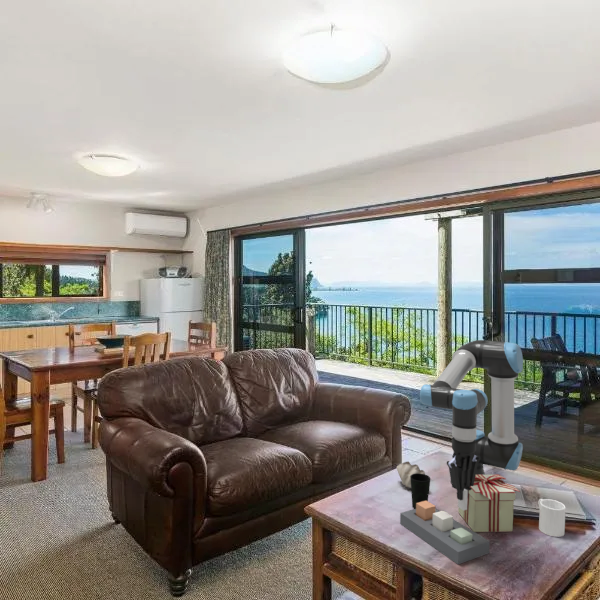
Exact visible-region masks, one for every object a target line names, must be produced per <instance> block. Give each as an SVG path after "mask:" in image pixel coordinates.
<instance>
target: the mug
mask: <svg viewBox="0 0 600 600" xmlns="http://www.w3.org/2000/svg"><path fill="white" fill-rule="evenodd" d="M537 503H538V509H539V518H538V519H539V520H538V529H539V531H540V532H541V533H542V534H545V536H546V535H547V536H550V537H555V538H558V537H559V538H560V537H564V535H565V529H566V505H565V504H564V503H563V502H561V501H558V500H555V499H551V498H550V499H549V498H539V499H538V501H537Z"/></svg>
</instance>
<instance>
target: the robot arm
mask: <svg viewBox="0 0 600 600" xmlns="http://www.w3.org/2000/svg"><path fill="white" fill-rule="evenodd" d="M523 368H524V357H523V352H522V348H521V346H520V345H519V344H517V343H516V342H509V341H495V340H484V339H479V340H471V341H470V342H467V343H465V344H463V345H461V346H460V347H459V348H457V349H456V351H455V352H454V353H452V357H451V361H450V362H449V363H448V365H447V366H446V367H445V369H444V370H443V371H442V372H441V374H440V375H439V376H438V378H437V379H436V380H435V382H434V383H433V384H431V383H429V384H428V383H427V384H423V385H422V386H421V388H420V390H419V391H420V392H419V400H420V403H421V405H425V406H429V407H433V408H437V409H445V410H452V421H451V422H452V424H451V426H452V428H451V429H452V431H451V433H452V434H451V436H452V437H451V448H452V451H453V453H452V459H450V460H447V461H446V465H447V467H448V469H449V470H448V471H449V476H450V484H451V487H452V488H453V489H455V490H456V499H457V508H460V509H462V510H467V498H468V493H469V490H471V489H472V488H470V486H473V485H474V481H475V476H476V475H486V474H485V470H484V469H485V468H484V465H486V466H490V467H494V468H498V469H503V470H509V471H516V470H518V467H519V465H520V463H521V460H522V455H523V449H524V448H523V447H524V446H523V445H524V444H523V443H522V442H519V437H518V436H517V434H516V433H515V379H517V378H518V377H519V373H522V372H523ZM474 369H484V370H486V371H487V375H488V376H487V377H489V378H490V381H491V382H490V383H491V387H490V388H491V431H490V432H489V433H488V435H487V436H486V435H485V432H484V431H482V430H480V429H477V421H478V420H477V419H478V418H477V417H478V415H479V414H480V413H481V412H483V411H484V410H485V409H486V407H487V405H488V403H489V402H488V396H487V394H486V393H485V392H484V390H482V389H479V388H473V389H472V388H471V389H469V390H468V389H461V388H458V387H459V386H460V384H461V382H462V381H463V380H464V378H465V376H467V374H468V373H469V372H471V371H473V370H474ZM470 481H471V482H470Z"/></svg>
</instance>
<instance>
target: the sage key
mask: <svg viewBox="0 0 600 600" xmlns="http://www.w3.org/2000/svg"><path fill="white" fill-rule="evenodd" d="M450 538H452V539H453V540H455V541H456V542H458V543H459V544H461V545H463V544H466V543H469V542H472V534H471V533H469V532H468V531H466V530H465V529H463V528H458V529H455V530H452V531H451V536H450Z"/></svg>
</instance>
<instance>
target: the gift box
mask: <svg viewBox="0 0 600 600" xmlns="http://www.w3.org/2000/svg"><path fill="white" fill-rule="evenodd" d="M504 480H507V478H506V477H504V476H502V475H501V474H496V473H495V474H485V475H476V476H475V481H474V485H473V486H470V488H472V489H471V490H469V493H468V498H467V510H462V509H460V508H459V507H457V508H458V509H457V511H458V513H459V515H460V516H461V518H462V519H463V521H464V522H465V523H466V524H467V525H468V527H469V529H470V530H472V531H474V532H475V533H503V532H505V533H507V532H513V527H514V526H513V522H514V505H515V503H514V501H516V492H519V493H521V490H519V489H518V488H517V487H516V486H515V485H512V484H510V483H507V482H504ZM470 482H471V481H470Z"/></svg>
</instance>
